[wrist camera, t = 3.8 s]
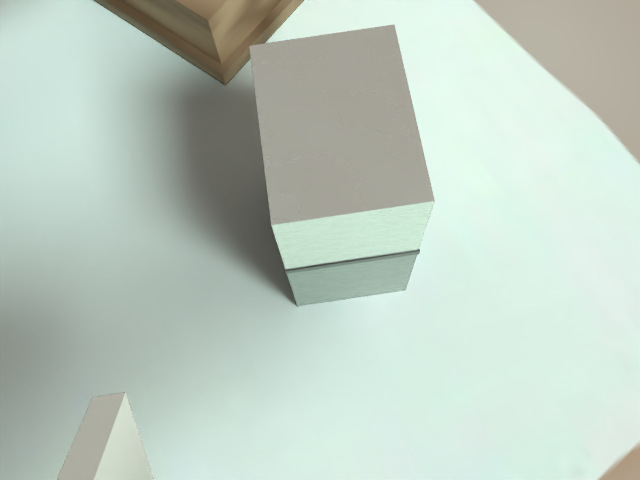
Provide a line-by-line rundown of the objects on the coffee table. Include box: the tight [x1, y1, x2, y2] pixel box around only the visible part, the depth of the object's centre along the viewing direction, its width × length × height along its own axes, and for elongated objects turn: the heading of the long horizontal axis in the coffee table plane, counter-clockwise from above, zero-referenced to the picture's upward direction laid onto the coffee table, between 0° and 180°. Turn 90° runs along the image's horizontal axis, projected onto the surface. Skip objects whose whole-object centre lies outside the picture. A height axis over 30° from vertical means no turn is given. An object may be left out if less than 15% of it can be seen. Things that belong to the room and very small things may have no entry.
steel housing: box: [249, 25, 434, 306], centre depth 29 cm, size 6×8×12 cm
